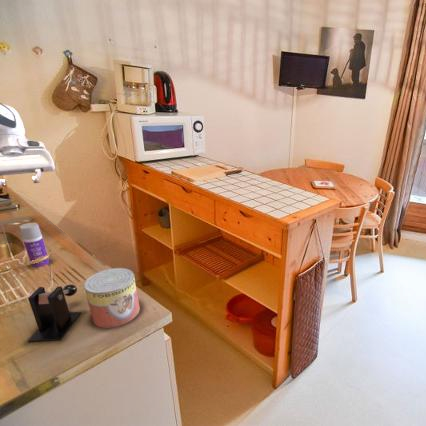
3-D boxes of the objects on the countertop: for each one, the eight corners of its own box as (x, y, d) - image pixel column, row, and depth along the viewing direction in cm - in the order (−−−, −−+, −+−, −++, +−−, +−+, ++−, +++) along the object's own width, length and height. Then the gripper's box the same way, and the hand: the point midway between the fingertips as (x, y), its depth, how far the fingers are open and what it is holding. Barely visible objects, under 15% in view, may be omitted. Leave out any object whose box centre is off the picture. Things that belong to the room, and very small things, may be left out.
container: (38, 270, 105) (25, 229, 99) (28, 266, 106) (15, 226, 100) (53, 263, 109) (41, 224, 103) (44, 260, 110) (32, 221, 104)
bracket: (53, 316, 86) (41, 280, 82) (81, 315, 88) (72, 279, 83) (29, 344, 77) (14, 306, 73) (61, 342, 79) (49, 304, 74)
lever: (66, 295, 89) (66, 283, 89) (79, 294, 90) (79, 283, 90) (35, 306, 77) (36, 292, 77) (50, 305, 78) (51, 292, 78)
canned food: (105, 336, 82) (96, 298, 77) (85, 317, 87) (75, 281, 82) (148, 313, 90) (142, 278, 86) (127, 297, 96) (121, 263, 91)
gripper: (-35, 145, 100) (-28, 183, 97) (48, 142, 113) (57, 175, 110) (-29, 156, 105) (-21, 193, 102) (51, 151, 117) (59, 184, 115)
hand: (20, 183), depth 106 cm, fingers open, 7 cm apart
